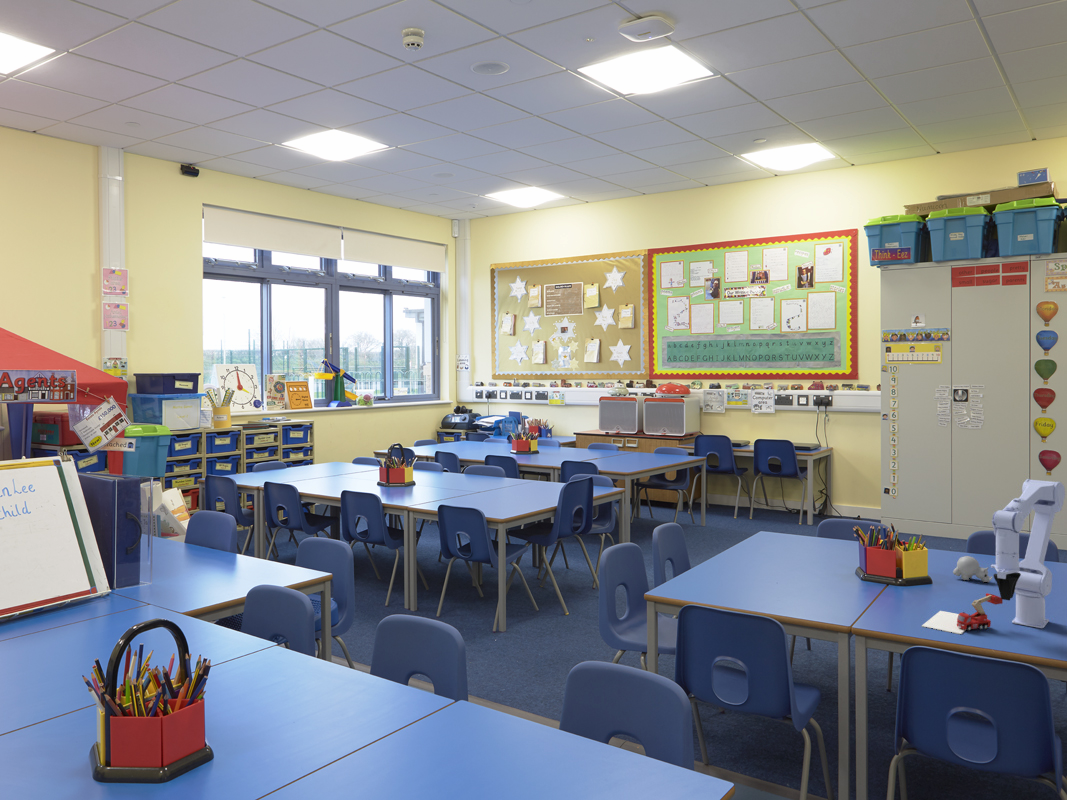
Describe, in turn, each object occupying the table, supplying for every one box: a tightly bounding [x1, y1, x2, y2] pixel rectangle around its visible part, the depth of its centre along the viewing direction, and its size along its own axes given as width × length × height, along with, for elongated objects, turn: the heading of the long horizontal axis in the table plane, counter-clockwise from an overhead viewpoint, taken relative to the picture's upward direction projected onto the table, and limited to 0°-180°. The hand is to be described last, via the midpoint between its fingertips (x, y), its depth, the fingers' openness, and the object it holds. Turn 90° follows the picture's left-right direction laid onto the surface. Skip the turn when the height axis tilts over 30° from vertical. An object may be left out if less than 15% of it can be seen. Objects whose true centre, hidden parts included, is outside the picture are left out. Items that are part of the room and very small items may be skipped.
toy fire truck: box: [957, 593, 1003, 631], centre depth 223 cm, size 3×14×10 cm, turn 105°
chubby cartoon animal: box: [952, 555, 993, 583], centre depth 273 cm, size 7×12×8 cm, turn 42°
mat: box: [921, 610, 966, 635], centre depth 228 cm, size 19×11×1 cm, turn 136°
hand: (1007, 598), depth 218 cm, fingers open, 3 cm apart
